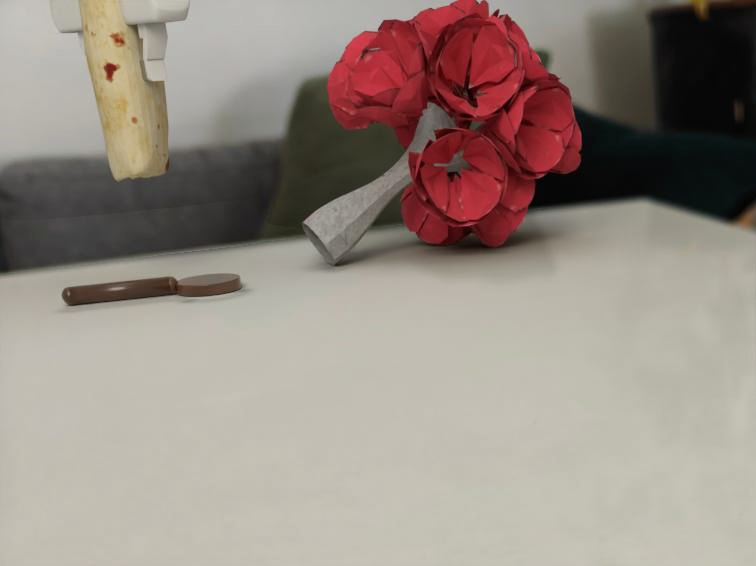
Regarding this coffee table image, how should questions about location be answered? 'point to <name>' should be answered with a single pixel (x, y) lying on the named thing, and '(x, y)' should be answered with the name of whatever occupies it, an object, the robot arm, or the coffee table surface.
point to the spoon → (152, 288)
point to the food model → (124, 93)
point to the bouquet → (449, 127)
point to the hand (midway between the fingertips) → (130, 82)
